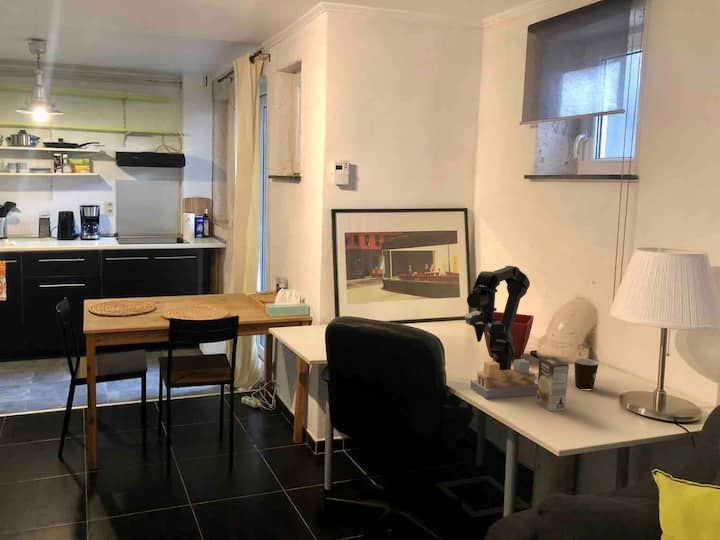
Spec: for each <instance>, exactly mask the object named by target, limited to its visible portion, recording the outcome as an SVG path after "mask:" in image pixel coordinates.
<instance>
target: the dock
mask: <svg viewBox="0 0 720 540" xmlns="http://www.w3.org/2000/svg"><path fill="white" fill-rule="evenodd" d="M537 385H538V383H536V382H535V384H529V385H516V386H504V387H492V388H485V387H484V386H481V385H480V383H479V384H478V383H477V379H473V380H470V389H471V390H472V389H473V390H472V391H473V392H475V391H476V392H475V393H477V394H478V395H480V396H481V397H483V398H484V399H486V400H491V399H502V398H513V397H524V396H534V395H535V396H537Z"/></svg>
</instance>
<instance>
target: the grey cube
mask: <svg viewBox="0 0 720 540" xmlns="http://www.w3.org/2000/svg"><path fill="white" fill-rule="evenodd" d="M530 363H531V362H530V361H528V360H527V359H525V358H522V359H521V358H520V359H517V360H515V359H513V369H514V371H516V372H518V373H529V370H530Z"/></svg>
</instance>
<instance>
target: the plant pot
mask: <svg viewBox="0 0 720 540" xmlns="http://www.w3.org/2000/svg"><path fill="white" fill-rule="evenodd" d="M503 313H504V312H503V311H502V312H499V311H494V318H495V319H496V322H500V323H501V321H502V317H503ZM533 323H534V315H531V314H522V313H521V314H520V313H516V316H515V320H514V324H513V327H512V331H511V334H512V338H513V346H514V348H515V349H516V353H515V355H514V357H511V360H517V359H521V357H522V356H523V355H524V354H525V351H526V347H527V345H528V343H529V340H530V339H529V338H530V335H531V332H532V327H533ZM483 336H484V341H485V344H486V345H485V346H486V349H487V352H488V356H489V357H491V358H494V354H492V353H491V350H490V348H489V339H488V334H487V332H486V326H485V329H484V332H483Z"/></svg>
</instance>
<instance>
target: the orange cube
mask: <svg viewBox="0 0 720 540" xmlns="http://www.w3.org/2000/svg"><path fill="white" fill-rule="evenodd" d="M499 367H500V364H499V363H497V362H495V361H493V360H492V361H491V360H490V361H484V362H483V371H484V373H485V374H487V375H489V376H492V375H499Z"/></svg>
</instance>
